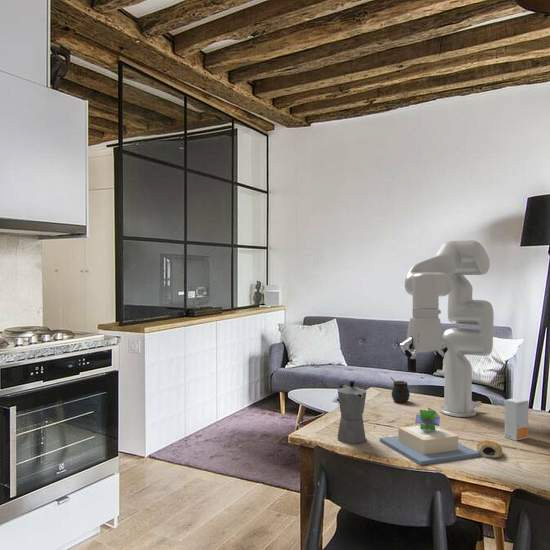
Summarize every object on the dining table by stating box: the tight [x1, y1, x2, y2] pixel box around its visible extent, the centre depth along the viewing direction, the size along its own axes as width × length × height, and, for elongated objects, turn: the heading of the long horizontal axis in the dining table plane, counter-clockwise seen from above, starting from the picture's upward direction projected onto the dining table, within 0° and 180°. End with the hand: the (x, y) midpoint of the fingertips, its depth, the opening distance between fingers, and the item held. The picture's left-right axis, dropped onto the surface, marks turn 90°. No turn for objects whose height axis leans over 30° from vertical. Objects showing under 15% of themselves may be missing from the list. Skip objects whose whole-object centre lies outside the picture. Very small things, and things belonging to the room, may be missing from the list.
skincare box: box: [504, 397, 529, 442], centre depth 152 cm, size 6×4×12 cm
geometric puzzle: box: [414, 407, 441, 432], centre depth 142 cm, size 7×7×8 cm
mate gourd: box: [390, 376, 410, 404], centre depth 196 cm, size 7×8×10 cm
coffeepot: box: [337, 380, 367, 444], centre depth 151 cm, size 15×9×18 cm, turn 16°
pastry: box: [476, 439, 503, 459], centre depth 139 cm, size 9×7×4 cm
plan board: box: [379, 424, 481, 466], centre depth 142 cm, size 20×20×5 cm
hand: (425, 370), depth 145 cm, fingers open, 9 cm apart
